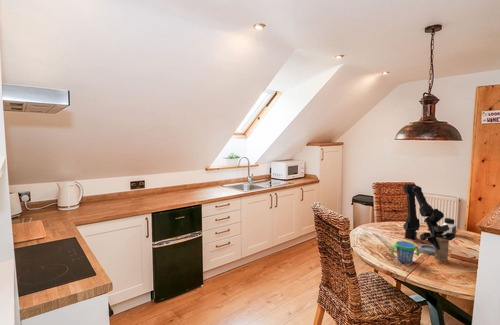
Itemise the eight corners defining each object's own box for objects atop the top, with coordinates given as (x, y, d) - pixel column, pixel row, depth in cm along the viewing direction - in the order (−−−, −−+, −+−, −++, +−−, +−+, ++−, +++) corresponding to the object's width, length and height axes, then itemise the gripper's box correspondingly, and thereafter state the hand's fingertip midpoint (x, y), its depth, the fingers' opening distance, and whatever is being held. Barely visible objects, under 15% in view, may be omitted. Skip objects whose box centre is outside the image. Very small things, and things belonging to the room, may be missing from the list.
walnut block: (434, 257, 169) (435, 237, 168) (442, 257, 169) (443, 237, 167) (439, 261, 164) (440, 240, 163) (447, 261, 164) (448, 240, 163)
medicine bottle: (451, 236, 203) (452, 220, 202) (441, 233, 209) (442, 218, 208) (456, 234, 207) (457, 218, 206) (445, 231, 213) (446, 216, 212)
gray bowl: (415, 250, 179) (415, 247, 179) (421, 245, 187) (421, 242, 187) (437, 256, 170) (437, 253, 170) (442, 250, 179) (442, 247, 179)
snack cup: (414, 257, 170) (415, 241, 169) (422, 265, 159) (423, 248, 158) (387, 256, 172) (388, 240, 171) (394, 263, 162) (394, 247, 161)
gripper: (423, 219, 169) (433, 244, 159) (454, 219, 168) (467, 244, 158) (415, 227, 177) (424, 251, 167) (445, 228, 176) (456, 251, 166)
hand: (443, 249), depth 165 cm, fingers closed on walnut block, 5 cm apart
